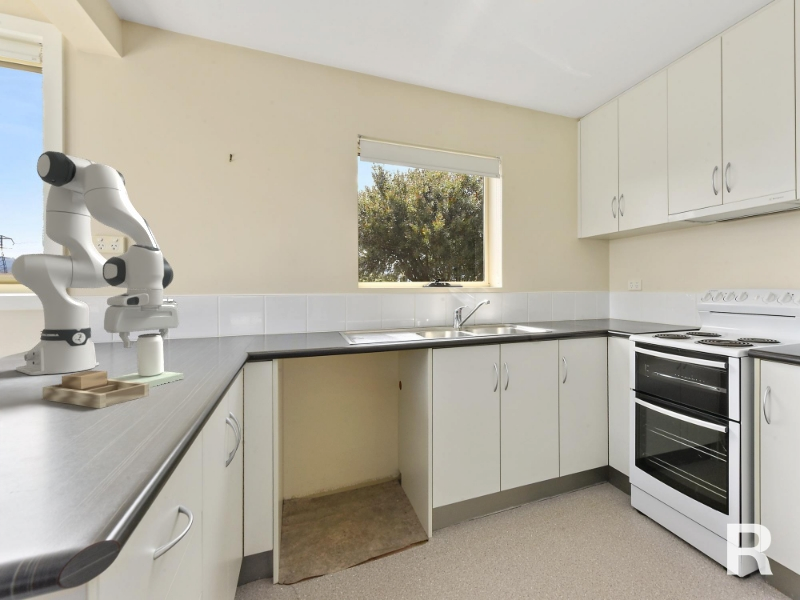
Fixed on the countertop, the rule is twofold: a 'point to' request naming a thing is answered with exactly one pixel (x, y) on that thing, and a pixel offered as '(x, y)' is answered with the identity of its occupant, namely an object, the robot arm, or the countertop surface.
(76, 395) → the rack
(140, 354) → the can
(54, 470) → the countertop surface
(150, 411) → the countertop surface
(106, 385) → the offcut lower
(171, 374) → the board
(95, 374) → the offcut upper
